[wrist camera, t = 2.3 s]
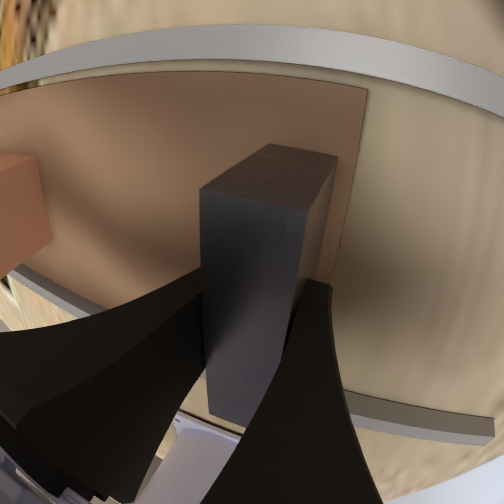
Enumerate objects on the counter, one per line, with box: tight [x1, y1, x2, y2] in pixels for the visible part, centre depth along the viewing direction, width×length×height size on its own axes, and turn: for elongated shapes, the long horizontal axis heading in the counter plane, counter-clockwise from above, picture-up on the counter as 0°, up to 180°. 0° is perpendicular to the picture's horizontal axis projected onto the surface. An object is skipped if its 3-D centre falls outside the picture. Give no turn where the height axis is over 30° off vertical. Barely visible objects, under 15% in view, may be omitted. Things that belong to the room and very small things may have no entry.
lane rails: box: [0, 25, 504, 446], centre depth 12 cm, size 15×36×1 cm, turn 86°
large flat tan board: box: [0, 71, 368, 428], centre depth 12 cm, size 12×24×4 cm, turn 86°
